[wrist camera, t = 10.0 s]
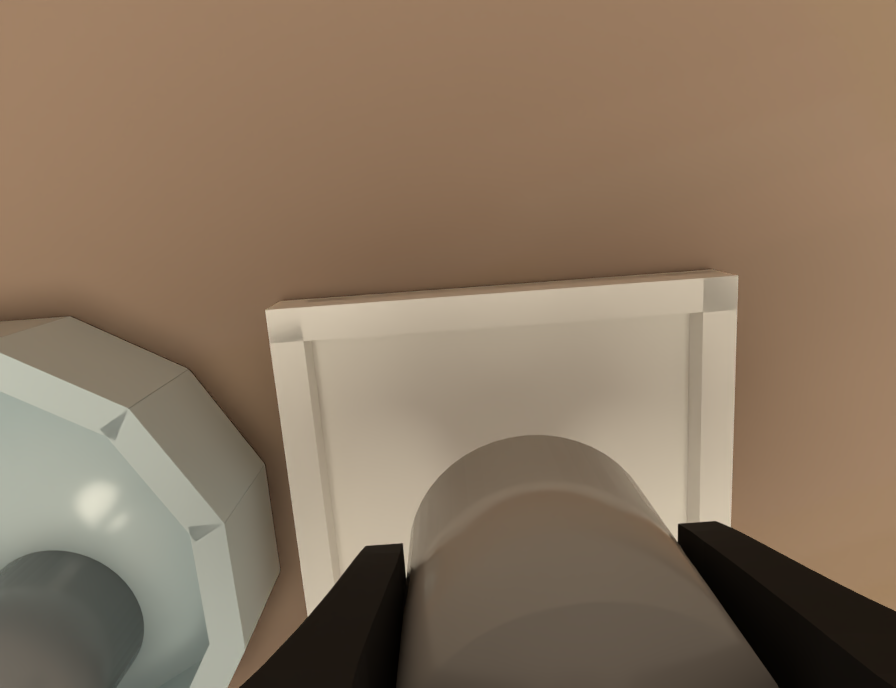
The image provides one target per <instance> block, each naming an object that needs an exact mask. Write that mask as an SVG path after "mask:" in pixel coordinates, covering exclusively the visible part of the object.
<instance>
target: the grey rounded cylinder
mask: <svg viewBox="0 0 896 688" xmlns="http://www.w3.org/2000/svg"><path fill="white" fill-rule="evenodd" d="M396 688H779V687H778V685H777V683H776V682H775V681H774V679H773V678H772V676H771V675H770V673H769V672H768V671H767V669H766V668H765V666H764V665H763V663H762V662H761V661H760V659H759V658H758V656H757V655H756V653H755V652H754V651H753V649H752V648H751V646H750V645H749V643H748V642H747V641H746V639H745V638H744V636H743V635H742V633H741V632H740V631H739V629H738V628H737V626H736V625H735V623H734V622H733V621H732V619H731V618H730V616H729V615H728V613H727V612H726V611H725V609H724V608H723V606H722V605H721V603H720V602H719V601H718V599H717V598H716V596H715V595H714V593H713V592H712V591H711V589H710V588H709V586H708V585H707V583H706V582H705V581H704V579H703V578H702V576H701V575H700V573H699V572H698V571H697V569H696V568H695V566H694V565H693V564H692V562H691V561H690V559H689V558H688V556H687V555H686V554H685V552H684V551H683V549H682V548H681V546H680V545H679V544H678V542H677V541H676V539H675V538H674V536H673V535H672V534H671V532H670V531H669V529H668V528H667V526H666V525H665V524H664V522H663V521H662V519H661V518H660V516H659V515H658V514H657V512H656V511H655V509H654V508H653V506H652V505H651V504H650V502H649V501H648V499H647V498H646V496H645V495H644V494H643V492H642V491H641V489H640V488H639V486H638V485H637V484H636V483H635V481H634V480H633V479H632V477H631V476H630V475H629V474H628V473H627V472H626V471H625V470H624V469H623V468H622V467H621V466H620V465H619V464H618V463H617V462H615V461H614V460H613V459H611V458H610V457H608V456H607V455H606V454H604V453H602V452H600V451H598V450H597V449H595V448H593V447H591V446H588V445H586V444H583V443H581V442H578V441H575V440H571V439H567V438H563V437H557V436H548V435H524V436H517V437H510V438H506V439H502V440H498V441H495V442H492V443H489V444H487V445H484V446H482V447H479V448H477V449H475V450H474V451H472V452H470V453H468V454H466V455H465V456H463V457H462V458H460V459H459V460H458V461H456V462H455V463H453V464H452V465H451V466H450V467H449V468H448V469H447V470H445V471H444V472H443V473H442V474H441V475H440V476H439V477H438V478H437V480H436V481H435V482H434V483H433V485H432V486H431V487H430V488H429V490H428V492H427V493H426V495H425V496H424V498H423V500H422V501H421V503H420V506H419V508H418V510H417V513H416V515H415V518H414V522H413V525H412V529H411V535H410V544H409V554H408V564H407V575H406V587H405V598H404V608H403V619H402V628H401V638H400V649H399V660H398V670H397V681H396Z"/></svg>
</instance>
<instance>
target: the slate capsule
mask: <svg viewBox="0 0 896 688" xmlns="http://www.w3.org/2000/svg"><path fill="white" fill-rule="evenodd" d="M143 637H144V621H143V615H142V611H141V608H140V605H139V603H138V601H137V598H136V597H135V595H134V593H133V592H132V590H131V589H130V588H129V586H128V585H127V584H126V582H125V581H124V580H123V579H122V578H121V577H120V576H119V575H118V574H116V573H115V572H114V571H113V570H111V569H110V568H109V567H107V566H105V565H104V564H102V563H101V562H99V561H96V560H94V559H92V558H90V557H87V556H84V555H81V554H78V553H73V552H69V551H59V550H47V551H39V552H34V553H30V554H27V555H24V556H22V557H19V558H17V559H15V560H14V561H12V562H10V563H9V564H7V565H6V566H5V567H4V568H2V569H1V570H0V688H117V686H118V685H119V683H120V682H121V680H122V679H123V677H124V676H125V674H126V673H127V671H128V670H129V668H130V667H131V665H132V664H133V662H134V661H135V659H136V657H137V655H138V653H139V652H140V649H141V646H142V643H143Z"/></svg>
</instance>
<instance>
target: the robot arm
mask: <svg viewBox="0 0 896 688" xmlns="http://www.w3.org/2000/svg"><path fill="white" fill-rule="evenodd" d="M678 544H679V545H680V546H681V548H682V549H683V551H684V552H685V554H686V555H687V556H688V558H689V559H690V561H691V562H692V564H693V565H694V566H695V568H696V569H697V571H698V572H699V573H700V575H701V576H702V578H703V579H704V581H705V582H706V583H707V585H708V586H709V588H710V589H711V591H712V592H713V593H714V595H715V596H716V598H717V599H718V601H719V602H720V603H721V605H722V606H723V608H724V609H725V611H726V612H727V613H728V615H729V616H730V618H731V619H732V621H733V622H734V623H735V625H736V626H737V628H738V629H739V631H740V632H741V633H742V635H743V636H744V638H745V639H746V641H747V642H748V643H749V645H750V646H751V648H752V649H753V651H754V652H755V653H756V655H757V656H758V658H759V659H760V661H761V662H762V663H763V665H764V666H765V668H766V669H767V671H768V672H769V673H770V675H771V676H772V678H773V679H774V681H775V682H776V683H777V685H778V687H779V688H896V611H894V610H892V609H890V608H887V607H885V606H883V605H881V604H879V603H877V602H875V601H872V600H870V599H868V598H866V597H864V596H862V595H860V594H858V593H856V592H854V591H852V590H850V589H848V588H846V587H844V586H842V585H840V584H838V583H836V582H834V581H832V580H830V579H828V578H826V577H824V576H822V575H821V574H819V573H817V572H815V571H813V570H811V569H809V568H807V567H805V566H803V565H801V564H800V563H798V562H796V561H794V560H792V559H790V558H788V557H786V556H785V555H783V554H781V553H779V552H777V551H775V550H773V549H771V548H770V547H768V546H766V545H764V544H762V543H760V542H758V541H756V540H755V539H753V538H751V537H749V536H747V535H745V534H743V533H741V532H739V531H737V530H735V529H733V528H731V527H729V526H727V525H724V524H722V523H720V522H717V521H708V522H694V523H680V524H678ZM405 587H406V571H405V561H404V550H403V543H398V544H384V545H370V546H365V547H364V548H363V549H362V550H361V551H360V552H359V554H358V555H357V556H356V557H355V559H354V560H353V561H352V563H351V564H350V565H349V567H348V568H347V569H346V571H345V572H344V573H343V574H342V576H341V577H340V578H339V580H338V581H337V582H336V583H335V585H334V586H333V587H332V588H331V590H330V591H329V592H328V593H327V595H326V596H325V597H324V598H323V599H322V601H321V602H320V603H319V604H318V605H317V607H316V608H315V609H314V610H313V611H312V613H311V614H310V615H309V616H308V617H307V618H306V620H305V621H304V622H303V623H302V624H301V625H300V627H299V628H298V629H297V630H296V631H295V632H294V633H293V634H292V635H291V636H290V637H289V638H288V640H287V641H286V642H285V643H284V644H283V645H282V646H281V647H280V648H279V649H278V650H277V651H276V652H275V653H274V654H273V655H272V656H271V658H270V659H269V660H268V661H267V662H266V663H265V664H264V665H263V666H262V667H261V668H260V669H259V670H258V671H257V672H256V673H255V674H253V675H252V676H251V677H250V678H249V679H248V680H247V681H246V682H245V683H244V684H243V685H242V686H240V687H239V688H396V681H397V670H398V660H399V649H400V638H401V628H402V619H403V608H404V598H405Z"/></svg>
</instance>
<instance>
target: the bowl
mask: <svg viewBox="0 0 896 688" xmlns="http://www.w3.org/2000/svg"><path fill="white" fill-rule="evenodd" d="M47 550H59V551H69V552H73V553H78V554H81V555H84V556H87V557H90V558H92V559H94V560H96V561H99V562H101V563H102V564H104V565H105V566H107V567H109V568H110V569H111V570H113V571H114V572H115V573H116V574H118V575H119V576H120V577H121V578H122V579H123V580H124V581H125V582H126V584H127V585H128V586H129V588H130V589H131V590H132V592H133V593H134V595H135V597H136V598H137V601H138V603H139V605H140V608H141V611H142V615H143V621H144V637H143V643H142V646H141V649H140V652H139V653H138V655H137V657H136V659H135V661H134V662H133V664H132V665H131V667H130V668H129V670H128V671H127V673H126V674H125V676H124V677H123V679H122V680H121V682H120V683H119V685H118V686H117V688H227V687H228V685H229V683H230V681H231V679H232V677H233V675H234V673H235V671H236V668H237V666H238V664H239V662H240V660H241V658H242V656H243V654H244V652H245V650H246V647H247V645H248V643H249V641H250V638H251V636H252V634H253V631H254V629H255V627H256V625H257V622H258V620H259V618H260V616H261V613H262V611H263V609H264V607H265V604H266V602H267V600H268V598H269V595H270V593H271V591H272V588H273V586H274V584H275V582H276V579H277V577H278V575H279V573H280V564H279V557H278V550H277V544H276V537H275V530H274V523H273V516H272V510H271V503H270V496H269V489H268V482H267V476H266V469H265V465H264V463H263V461H262V460H261V459H260V458H259V456H258V455H257V454H256V453H255V451H254V450H253V449H252V448H251V446H250V445H249V444H248V443H247V441H246V440H245V439H244V438H243V436H242V435H241V434H240V433H239V431H238V430H237V429H236V427H235V426H234V425H233V424H232V422H231V421H230V420H229V419H228V417H227V416H226V415H225V414H224V412H223V411H222V410H221V409H220V407H219V406H218V405H217V404H216V402H215V401H214V400H213V399H212V397H211V396H210V395H209V394H208V392H207V391H206V390H205V389H204V387H203V386H202V385H201V384H200V382H199V381H198V380H197V379H196V377H195V376H194V375H193V374H192V372H191V371H190V370H188V369H187V368H185V367H183V366H181V365H178V364H176V363H174V362H172V361H169V360H167V359H165V358H163V357H161V356H158V355H156V354H154V353H152V352H149V351H147V350H145V349H143V348H140V347H138V346H136V345H134V344H131V343H129V342H127V341H125V340H122V339H120V338H118V337H116V336H113V335H111V334H109V333H107V332H104V331H102V330H100V329H98V328H95V327H93V326H91V325H89V324H86V323H84V322H82V321H80V320H77V319H75V318H73V317H71V316H67V317H53V318H39V319H25V320H12V321H0V570H1V569H2V568H4V567H5V566H6V565H7V564H9V563H10V562H12V561H14V560H15V559H17V558H19V557H22V556H24V555H27V554H30V553H34V552H39V551H47Z"/></svg>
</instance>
